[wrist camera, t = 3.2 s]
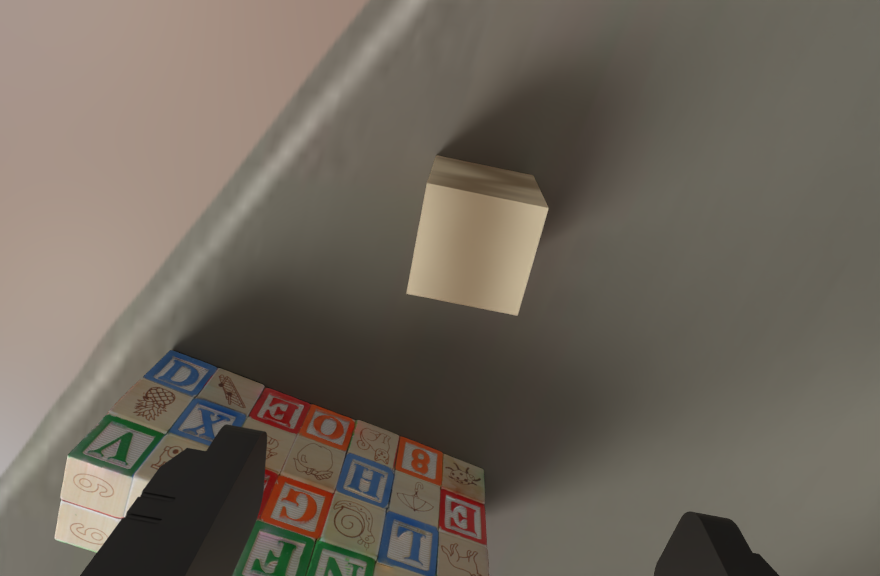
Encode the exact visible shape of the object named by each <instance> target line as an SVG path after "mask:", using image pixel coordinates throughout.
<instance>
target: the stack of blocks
mask: <svg viewBox="0 0 880 576" xmlns="http://www.w3.org/2000/svg"><path fill="white" fill-rule="evenodd" d="M226 424H228V425H233V426H238V427H244V428H249V429H255V430H260V431H265V432H266V433H267V450H266V464H265V479H264V492H263V498H262V503H261V507H260V511H259V514H258V517H257V520H256V523H255V525H254V528H253V530H252V532H251V534H250V537H249V539H248V541H247V543H246V546H245V548H244V550H243V552H242V554H241V557H240V559H239V561H238V563H237V566H236V568H235V570H234V572H233V575H232V576H489V569H488V567H489V562H488V550H487V548H486V547H487V537H486V518H485V507H484V504H485V484H484V470H483V469H481V468H479V467H476V466H474V465H471V464H469V463H466V462H464V461H461V460H458V459H456V458H453V457H451V456H448V455H446V454H443V453H442V452H441V451H438V450H436V449H433V448H430V447H428V446H425V445H423V444H420V443H418V442H415V441H412V440H410V439H407V438H405V437H401V436H399V435H397V434H394V433H392V432H390V431H387V430H384V429H382V428H379V427H377V426H374V425H371V424H369V423H366V422H364V421H361V420H354V419H351V418H349V417H346V416H343V415H340V414H337V413H335V412H333V411H330V410H327V409H325V408H322V407H319V406H317V405H314V404H309V403H307V402H305V401H302V400H299V399H297V398H294V397H292V396H289V395H286V394H283V393H281V392H279V391H276V390H273V389H270V388H266V387H265V386H264V385H263V384H260V383H258V382H255V381H252V380H250V379H247V378H244V377H242V376H239V375H237V374H234V373H231V372H229V371H226V370H224V369H221V368H217V367H215V366H213V365H211V364H208V363H205V362H203V361H200V360H197V359H194V358H191V357H189V356H187V355H183V354H181V353H178V352H176V351H172V350H170V351H169V352H168V353H167V354H166V355H165V356H164V357H163V358H162V359H161V360H160V361H159V362H158V363H157V364H156V365H155V366H154V367H153V368H152V369H151V370H150V371H148V372H147V373H146V374H145V375H144V376H143V378H142V379H140V380H139V381H138V382H137V383H136V384H135V385H134V386H133V387H132V388H131V389H130V390H129V391H128V392H127V393H126V394H125V395H124V396H123V397H122V398H121V399H120V400H119V401H118V402H117V403H116V404H115V405H114V406H113V407H112V408H111V409H110V410H109V412H108V415H106V416H105V417H104V418H103V419H102V420H101V421H100V422H99V423H98V424H97V425H96V426H95V427H94V428H93V429H92V430H91V431H90V432H89V433H88V434H87V435H86V436H85V438H84V439H83V440H82V441H81V442H80V443H79V444H78V445H77V446H76V447H75V448H74V449H73V450H72V451H71V452H70V453H69V454H68V457H67V462H66V467H65V474H64V480H63V485H62V490H61V495H60V497H61V498H62V500H61V503H60V509H59V514H58V520H57V526H56V532H55V540H58V541H60V542H64V543H68V544H71V545H74V546H77V547H80V548H84V549H87V550H90V551H93V552H96V553H97V552H98V551H99V549H100V548H101V547H102V545H103V544H104V542H105V541H106V540H107V538H108V537H109V536H110V534H111V533H112V532H113V530H114V529H115V527H116V526H117V525H118V523H119V522H120V521H121V519H122V518H125V516H126V512H127V511H128V510H129V508H130V507H131V506H132V504H133V503H134V502H135V500H136V499H137V497H140V496H141V494H142V491H143V489H144V488H145V487H146V485H147V484H148V483H149V481H150V480H151V478H152V477H153V476H154V474H155V473H156V472H157V470H158V469H159V468H160V466H162V465H163V464H165V463H166V462H168V461H169V460H170V459H172V458H173V457H175V456H176V455H178V454H179V453H180V452H182V451H183V450H185V449H186V448H191V449H197V450H202V451H206V450H207V449H208V447H209V446H210V444H211V443H212V441H213V440H214V438H215V437H216V435H217V434H218V432H219V431H220V429H221V428H222V427H223V426H224V425H226Z"/></svg>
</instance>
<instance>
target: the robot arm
mask: <svg viewBox="0 0 880 576" xmlns="http://www.w3.org/2000/svg"><path fill="white" fill-rule="evenodd" d="M266 450H267V433H266V432H265V431H260V430H255V429H249V428H244V427H238V426H233V425H228V424H226V425H224V426H223V427H222V428H221V429H220V431H219V432H218V434H217V435H216V437H215V438H214V440H213V441H212V443H211V444H210V446H209V447H208V449H207V450H206V451H202V450H197V449H191V448H186V449H185V450H183V451H182V452H180V453H179V454H178V455H176V456H175V457H173V458H172V459H170V460H169V461H168V462H166V463H165V464H163V465H162V466H160V468H159V469H158V470H157V472H156V473H155V474H154V476H153V477H152V478H151V480H150V481H149V483H148V484H147V485H146V487H145V488H144V489H143V491H142V494H141V496H140V497H137V499H136V500H135V502H134V503H133V504H132V506H131V507H130V508H129V510H128V511H127V512H126V516H125V518H122V519H121V521H120V522H119V523H118V525H117V526H116V527H115V529H114V530H113V532H112V533H111V534H110V536H109V537H108V538H107V540H106V541H105V542H104V544H103V545H102V547H101V548H100V549H99V551H98V552H97V553H96V555H95V556H94V557H93V559H92V560H91V562H90V563H89V564H88V566H87V567H86V568H85V570H84V571H83V572H82V574H81V575H80V576H232V575H233V572H234V570H235V568H236V566H237V563H238V561H239V559H240V557H241V554H242V552H243V550H244V548H245V546H246V543H247V541H248V539H249V537H250V534H251V532H252V530H253V528H254V525H255V523H256V520H257V517H258V514H259V511H260V507H261V503H262V498H263V492H264V479H265V464H266ZM654 576H779V575H778V574H777V573H776V572H775V571H774V570H773V568H772V567H771V566H770V565H769V564H768V563H767V562H766V561H765V560H764V559H763V558H762V557H761V556H760V555H759V554H756V553H752V551H751V549H750V548H749V546H748V544H747V542H746V540H745V539H744V537H743V535H742V533H741V531H740V530H739V528H738V526H737V525H736V524H735V523H734V522H733V521H732V520H730V519H728V518H722V517H717V516H711V515H706V514H701V513H695V512H687V513H685V514H684V515H683V516H682V518H681V519H680V521H679V523H678V525H677V527H676V528H675V530H674V532H673V534H672V536H671V538H670V540H669V542H668V543H667V545H666V547H665V549H664V551H663V553H662V555H661V557H660V558H659V560H658V562H657V565H656V568H655V572H654Z"/></svg>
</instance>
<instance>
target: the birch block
mask: <svg viewBox="0 0 880 576" xmlns="http://www.w3.org/2000/svg"><path fill="white" fill-rule="evenodd" d="M548 209H549V208H548V205H547V203H546V201H545V199H544V197H543V195H542V193H541V191H540V189H539V186H538V184H537V182H536V180H535V178H534V176H533V175H529V174H524V173H520V172H515V171H510V170H505V169H500V168H496V167H491V166H486V165H481V164H476V163H472V162H467V161H462V160H457V159H452V158H447V157H443V156H438V155H436V157H435V160H434V163H433V166H432V169H431V172H430V175H429V178H428V181H427V186H426V191H425V196H424V202H423V207H422V212H421V218H420V223H419V229H418V234H417V239H416V245H415V250H414V256H413V261H412V266H411V272H410V277H409V282H408V288H407V293H406V294H411V295H416V296H421V297H426V298H431V299H436V300H441V301H446V302H451V303H456V304H461V305H466V306H471V307H476V308H481V309H486V310H491V311H496V312H501V313H506V314H511V315H516V316H518V312H519V309H520V305H521V302H522V299H523V295H524V292H525V288H526V285H527V281H528V278H529V274H530V271H531V268H532V264H533V261H534V257H535V254H536V250H537V247H538V243H539V240H540V237H541V233H542V230H543V226H544V223H545V219H546V216H547V212H548Z"/></svg>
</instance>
